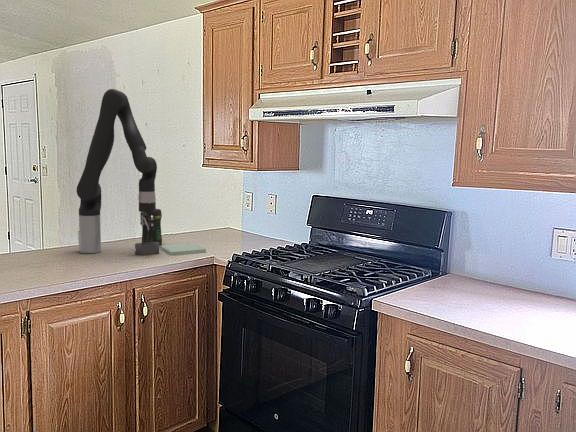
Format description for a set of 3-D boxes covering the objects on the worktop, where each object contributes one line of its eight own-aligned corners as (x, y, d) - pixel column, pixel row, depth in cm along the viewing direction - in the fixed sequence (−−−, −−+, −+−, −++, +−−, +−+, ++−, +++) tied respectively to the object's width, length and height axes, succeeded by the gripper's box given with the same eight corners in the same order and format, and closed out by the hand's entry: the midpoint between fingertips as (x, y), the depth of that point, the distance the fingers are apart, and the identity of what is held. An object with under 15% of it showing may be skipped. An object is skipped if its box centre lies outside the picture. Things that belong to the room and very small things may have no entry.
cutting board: (171, 255, 239) (171, 252, 239) (159, 249, 252) (159, 245, 252) (205, 252, 248) (205, 249, 247) (193, 246, 261) (193, 243, 261)
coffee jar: (164, 244, 263) (164, 208, 260) (154, 247, 256) (154, 209, 253) (149, 242, 267) (148, 206, 264) (138, 245, 259) (138, 208, 257)
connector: (131, 256, 235) (131, 245, 234) (128, 254, 239) (128, 243, 238) (160, 253, 242) (160, 243, 241) (157, 252, 246) (157, 241, 245)
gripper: (134, 200, 242) (135, 234, 244) (143, 203, 230) (144, 239, 232) (150, 199, 246) (151, 233, 248) (160, 202, 234) (160, 238, 236)
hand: (147, 236), depth 240 cm, fingers open, 8 cm apart
